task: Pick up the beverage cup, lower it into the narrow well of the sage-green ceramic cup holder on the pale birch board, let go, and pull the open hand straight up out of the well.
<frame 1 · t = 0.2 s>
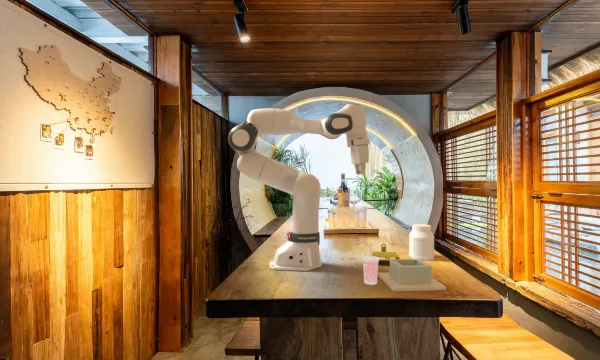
hand: (360, 174, 154), 39 cm above the table, tool pointing down, fingers open, 8 cm apart
jar: (421, 257, 168), on the table
beverage cup: (370, 283, 130), on the table
cup well: (409, 282, 130), on the table
bracket: (385, 265, 157), on the table
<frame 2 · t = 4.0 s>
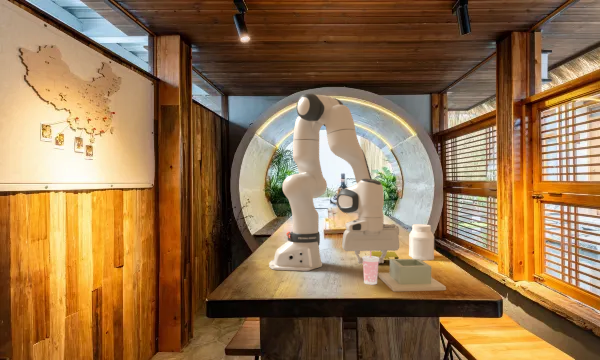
hand: (370, 262, 130), 7 cm above the table, tool pointing down, fingers closed on beverage cup, 6 cm apart
beverage cup: (370, 283, 130), on the table, touching gripper
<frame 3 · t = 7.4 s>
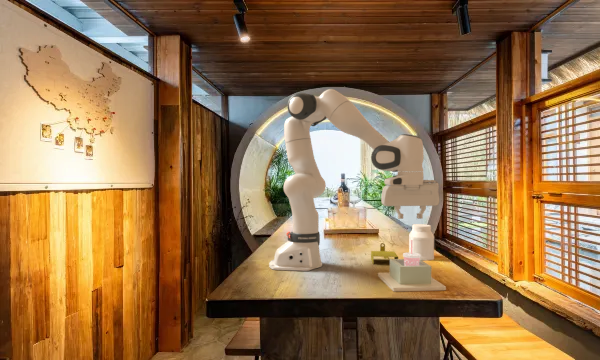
hand: (410, 218, 129), 23 cm above the table, tool pointing down, fingers open, 6 cm apart
beverage cup: (411, 279, 130), point 1 cm above the table, touching cup well
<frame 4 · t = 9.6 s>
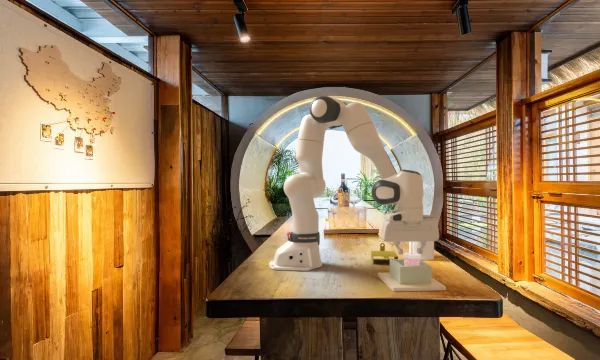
hand: (410, 253, 129), 10 cm above the table, tool pointing down, fingers open, 6 cm apart
beverage cup: (411, 279, 130), point 1 cm above the table, touching cup well, gripper
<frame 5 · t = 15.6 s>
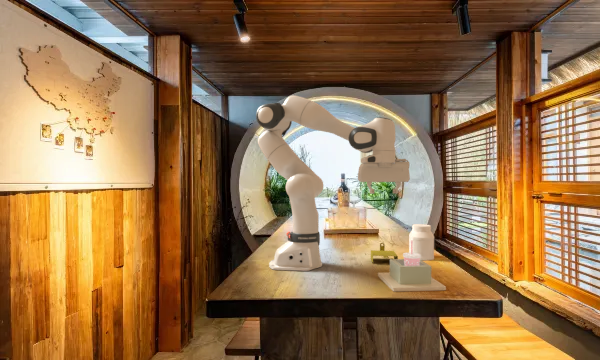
hand: (383, 193, 144), 31 cm above the table, tool pointing down, fingers open, 8 cm apart
beverage cup: (411, 279, 130), point 1 cm above the table, touching cup well
at the end: beverage cup 0.7 cm off-centre on the cup well, point 1.0 cm above the cup well's base; beverage cup tilted 0°; the gripper is holding nothing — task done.
